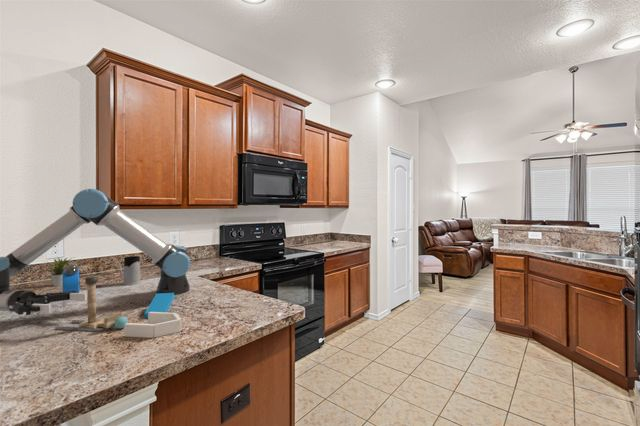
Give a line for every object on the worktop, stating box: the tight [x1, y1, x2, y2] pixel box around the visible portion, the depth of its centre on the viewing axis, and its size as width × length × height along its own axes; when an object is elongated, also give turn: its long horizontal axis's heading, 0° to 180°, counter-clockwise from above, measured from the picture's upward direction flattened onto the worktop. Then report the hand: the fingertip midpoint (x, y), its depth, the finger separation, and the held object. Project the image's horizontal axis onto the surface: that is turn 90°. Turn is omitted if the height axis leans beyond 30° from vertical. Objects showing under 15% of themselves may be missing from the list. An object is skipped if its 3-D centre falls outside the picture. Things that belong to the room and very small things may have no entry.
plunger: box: [78, 276, 123, 329], centre depth 108 cm, size 12×6×17 cm, turn 83°
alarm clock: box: [62, 264, 81, 293], centre depth 148 cm, size 13×6×15 cm, turn 38°
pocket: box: [124, 311, 183, 339], centre depth 105 cm, size 16×12×4 cm
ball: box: [114, 316, 129, 330], centre depth 107 cm, size 4×4×4 cm
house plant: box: [44, 256, 76, 287], centre depth 171 cm, size 14×14×16 cm
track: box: [54, 319, 104, 333], centre depth 109 cm, size 18×7×1 cm, turn 83°
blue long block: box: [144, 293, 175, 319], centre depth 127 cm, size 7×7×18 cm
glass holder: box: [118, 255, 142, 286], centre depth 175 cm, size 9×14×15 cm, turn 71°
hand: (69, 302), depth 109 cm, fingers open, 13 cm apart
